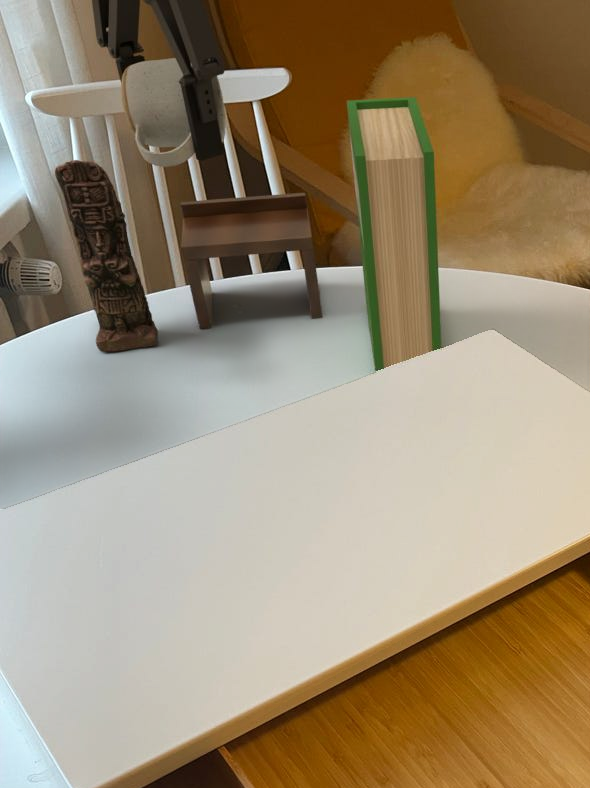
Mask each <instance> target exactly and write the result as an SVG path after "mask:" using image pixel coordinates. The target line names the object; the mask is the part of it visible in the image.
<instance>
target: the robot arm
mask: <svg viewBox="0 0 590 788" xmlns="http://www.w3.org/2000/svg"><path fill="white" fill-rule="evenodd" d="M142 1H143V2H144V4H146V5H148V6H150V7H151V9H152V11H153V14H154V16H155V18H156V20H157V22H158V24H159V26H160V29H161V30H162V33H163V35H164V37H165V39H166V41H167V44H168V46H169V48H170V50H171V52H172V54H173V56H174V58H176V61H177V63H178V65H179V67H180V69H181V71H182V73H183V75H184V76H183V77H182V78H181V79H180V81H178V82H179V83H180V85H181V90H182V94H183V99H184V104H185V108H186V113H187V118H188V122H189V127H190V132H191V136H192V141H193V146H194V150H195V153H194V155H195V159H196V160H197V161H200V162H203V161H205V160H209V159H212V158H215V157H218V156H222V155H225V150H224V145H223V143H222V139H221V134H220V129H219V123H218V118H217V109H216V104H215V99H214V94H213V89H212V79H213V78H214V77H216V76H217V77H218V76H221V75H224V74H225V66H224V62H223V58H222V57H221V56H222V55H221V53H220V50H219V47H218V44H217V41H216V38H215V35H214V32H213V29H212V26H211V23H210V19H209V17H208V14H207V11H206V8H205V5H204V2H203V0H142ZM91 5H92V13H93V21H94V30H95V37H96V41H97V44H98V45H99V46H100V48H107V50H108V53H109V56H110V57H111V58H112V59H115V64H116V69H117V72H118V76H119V77H118V78H119V81H120V82H121V81H122V76H123V73H124V71H125V69H126V68H127V67H128V66H131V65H133V64H136V63H139V62H143V61H146V60H145V55H141V54H140V53H143V52H144V51H145V48H143V46H142V45H141V44H140V43H139V28H140V27H139V26H140V11H141V9H140V8H141V0H91ZM135 54H139V55H135ZM209 60H210V61H209ZM191 65H192V66H191Z"/></svg>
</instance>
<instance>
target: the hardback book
mask: <svg viewBox="0 0 590 788" xmlns="http://www.w3.org/2000/svg"><path fill="white" fill-rule="evenodd" d="M346 108H347V119H348V130H349V138H350V139H349V141H350V148H351V149H350V150H351V159H352V171H353V181H354V190H355V191H354V193H355V201H356V211H357V212H356V213H357V222H358V233H359V244H360V254H361V264H362V273H363V283H364V285H363V286H364V294H365V304H366V314H367V315H368V316H367V322H368V330H369V336H370V337H371V338H370V345H371V350H372V358H373V359H374V360H373V367H374V366H375V367H374V372H375V371H378V370H381V369H384V368H386V367H389V366H391V365H394V364H397V363H400V362H403V361H406V360H409V359H411V358H414V357H416V356H420V355H423V354H426V353H428V352H431V351H434V350H437V349H440V348H441V349H442V327H441V301H440V278H439V277H440V276H439V250H438V249H439V248H438V226H437V225H438V224H437V222H438V221H437V203H436V202H437V200H436V199H437V197H436V178H435V177H436V175H435V172H436V171H435V151H434V147H433V145H432V142H431V139H430V135H429V134H428V131H427V126H426V124H425V121H424V119H423V115H422V113H421V109H420V106H419V103H418V101H417V97H416V96H411V97H408V96H407V97H391V98H390V97H389V98H370V99H352V100H351V99H350V100H346Z"/></svg>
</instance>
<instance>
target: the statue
mask: <svg viewBox="0 0 590 788" xmlns="http://www.w3.org/2000/svg"><path fill="white" fill-rule="evenodd" d="M54 176H55V179H56V182H57V183H58V186H59V188H60V190H61V192H62V194H63V199H64V203H65V207H66V211H67V215H68V219H69V221H70V222H71V227H72V232H73V236H74V238H75V241H76V245H77V247H78V248H77V249H78V253H79V258H80V260H79V261H80V262H79V263H80V267H81V273H82V276H83V279H84V283H85V285H86V287H87V288H88V292H89V293H88V294H89V296H90V299H91V302H92V306H93V308H92V309H93V311H94V313H95V314H96V318H97V323H98V326H99V330H98V332H97V334H96V338H95V344H96V347H97V349H98V351H100V352H119V351H126V350H127V351H128V350H133V349H139V348H147V347H154V346H156V345H157V344H159V341H158V337H159V336H158V335H159V334H158V327H156V324H155V321H154V320H153V314H152V313H151V311H150V306H149V302H148V300H147V296H146V292H145V289H144V286H143V284H142V281H141V280H142V279H141V277H140V274H139V272H138V268H137V265H136V262H135V260H134V257H133V254H132V250H131V245H130V240H129V236H128V229H127V221H126V219H125V217H126V215H125V213H124V212H123V208H122V203H121V201H119V199H118V196H117V193H116V190H115V188H114V185H113V183H112V181H111V179H110V177H109V174H108V173H107V172H106V171H105V169H104V168H103V167H102V166H100V165H99V164H98V163H97V162H95V161H93V160H85V161H83V160H79V159H72V160H70V161H66V162H64V163H62V164H59V165H58V166H56V167H55V169H54Z"/></svg>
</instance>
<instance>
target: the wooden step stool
mask: <svg viewBox="0 0 590 788" xmlns="http://www.w3.org/2000/svg"><path fill="white" fill-rule="evenodd" d="M180 211H181V214H182V218H183V219H182V231H181V241H180V242H181V243H180V244H181V245H180V249H181V254H182V258H183V263H184V267H185V271H186V276H187V280H188V285H189V288H190V289H189V290H190V293H191V298H192V302H193V306H194V310H195V315H196V318H197V323H198V327H199V330H206V329H212V321H213V319H212V315H213V290H212V285H211V281H210V276H209V271H208V266H207V261H206V259H213V258H227V257H228V258H229V257H238V256H251V255H252V256H253V255H263V254H264V255H265V254H274V253H275V254H276V253H286V252H296V251H297V252H299V251H301V255H302V262H303V269H304V277H305V284H306V291H307V297H308V305H309V311H310V319H313V320H314V319H320V318H321V319H322V318H323V311H322V310H323V309H322V301H321V296H320V288H319V280H318V273H317V265H316V257H315V250H314V243H313V235H312V234H313V233H312V229H311V224H310V223H311V222H310V216H309V211H308V202H307V195H306V192H295V193H294V192H293V193H282V194H281V193H280V194H267V195H255V196H241V197H230V198H229V197H228V198H217V199H205V200H204V199H203V200H191V201H190V200H189V201H181V202H180Z"/></svg>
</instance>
